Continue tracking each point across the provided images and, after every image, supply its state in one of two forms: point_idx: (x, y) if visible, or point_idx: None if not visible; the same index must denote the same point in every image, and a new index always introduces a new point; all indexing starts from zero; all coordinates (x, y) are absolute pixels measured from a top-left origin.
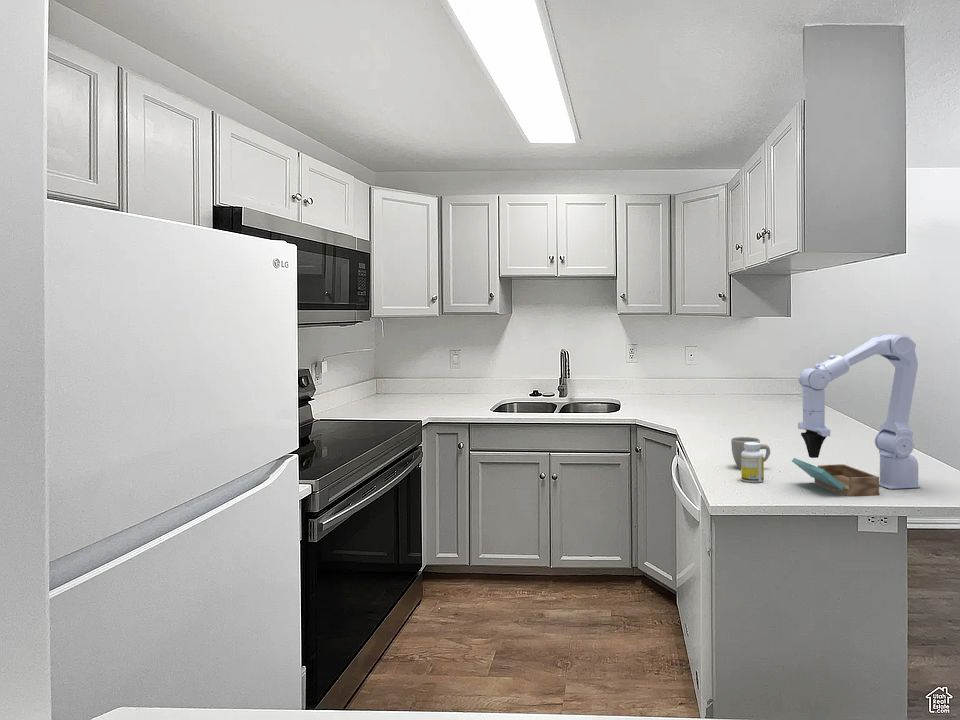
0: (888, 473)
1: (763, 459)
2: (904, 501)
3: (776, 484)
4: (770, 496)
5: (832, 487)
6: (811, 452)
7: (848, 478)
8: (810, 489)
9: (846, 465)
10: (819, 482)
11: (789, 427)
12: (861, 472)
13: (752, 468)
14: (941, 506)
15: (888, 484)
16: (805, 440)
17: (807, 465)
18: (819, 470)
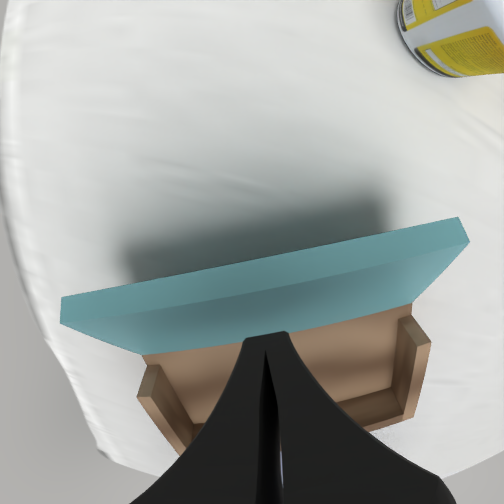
0: (282, 478)
1: (496, 54)
2: (128, 428)
3: (374, 104)
4: (118, 26)
5: None
6: (233, 374)
7: (334, 396)
8: (265, 234)
9: (391, 423)
10: None
11: None
12: None
13: None
14: (108, 453)
15: (280, 452)
16: (322, 450)
17: (248, 274)
18: (87, 302)
